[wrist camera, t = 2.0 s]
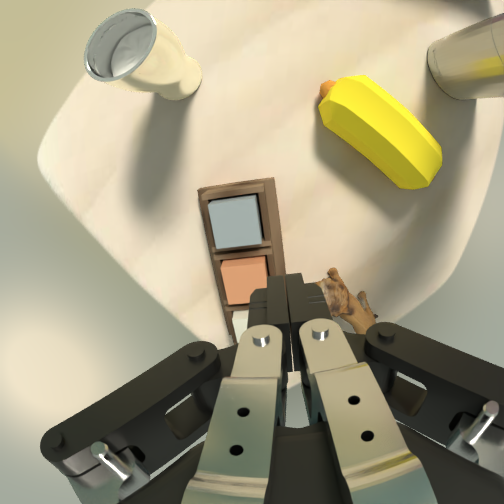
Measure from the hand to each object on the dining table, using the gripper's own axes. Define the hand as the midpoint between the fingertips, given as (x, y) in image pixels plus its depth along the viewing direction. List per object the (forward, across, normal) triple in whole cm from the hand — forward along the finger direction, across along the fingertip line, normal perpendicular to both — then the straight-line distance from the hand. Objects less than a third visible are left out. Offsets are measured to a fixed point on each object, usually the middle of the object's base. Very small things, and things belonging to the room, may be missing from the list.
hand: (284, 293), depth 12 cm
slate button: (+19, +4, +1) cm, 20 cm away
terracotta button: (+19, +4, +8) cm, 21 cm away
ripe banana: (+22, -14, -7) cm, 27 cm away
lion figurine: (+23, -8, +14) cm, 28 cm away
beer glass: (+23, +9, -17) cm, 30 cm away
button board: (+23, +4, +8) cm, 24 cm away
